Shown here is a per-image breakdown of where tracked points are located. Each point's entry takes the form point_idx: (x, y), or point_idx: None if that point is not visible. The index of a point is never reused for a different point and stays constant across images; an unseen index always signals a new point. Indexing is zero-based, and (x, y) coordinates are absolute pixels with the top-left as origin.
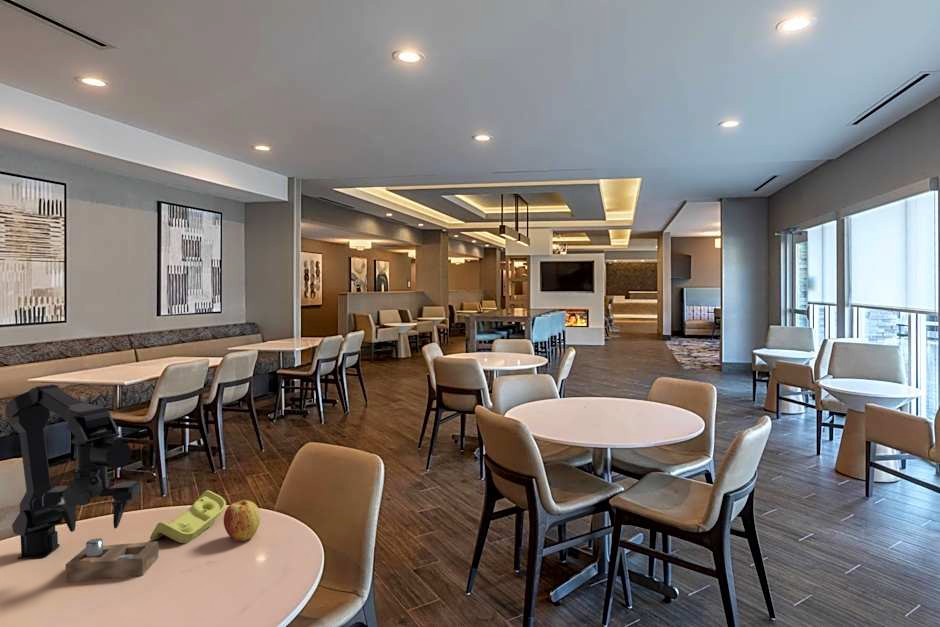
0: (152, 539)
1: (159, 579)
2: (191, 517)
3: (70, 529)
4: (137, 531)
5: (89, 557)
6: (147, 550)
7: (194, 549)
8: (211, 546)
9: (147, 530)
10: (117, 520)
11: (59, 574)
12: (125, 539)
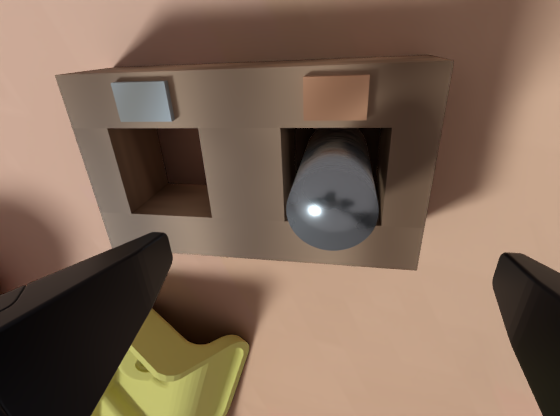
0: (233, 335)
1: (23, 16)
2: (151, 411)
3: (531, 261)
4: (325, 407)
5: (346, 145)
6: (93, 165)
7: (69, 245)
8: (31, 253)
9: (297, 403)
10: (88, 260)
11: (491, 148)
12: (339, 369)
